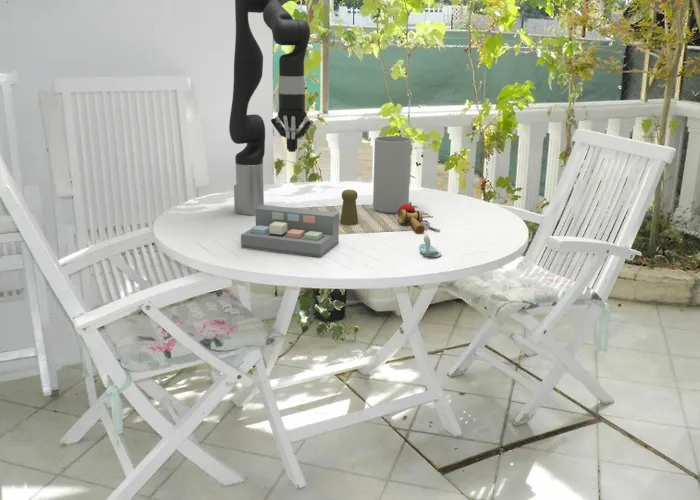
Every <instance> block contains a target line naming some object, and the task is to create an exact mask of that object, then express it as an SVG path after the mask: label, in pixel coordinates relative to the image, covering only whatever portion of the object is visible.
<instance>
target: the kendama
mask: <svg viewBox="0 0 700 500" xmlns="http://www.w3.org/2000/svg"><path fill="white" fill-rule="evenodd" d="M397 216H398V220H399V223H400V224H401V223H402V224H404V223H411V225H412V227H413V228H414V230H415V231H414V232H415V233H417V234H419V235H420V234H423V233H425V230H426V229H425V227H424V225H423V224H422V223H423V218H424V215H423V211H422V210H416V208H415V207H414V206H413V205H412V204H410V203H409V204H404V205H402V206H401V207H400V208H399V209H398V213H397Z"/></svg>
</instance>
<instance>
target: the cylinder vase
mask: <svg viewBox="0 0 700 500" xmlns="http://www.w3.org/2000/svg"><path fill="white" fill-rule="evenodd" d="M373 151H374V155H373V156H374V157H373V161H374V162H373V191H372V193H373V196H372V197H373V198H372V208H373V210H374V211H376V212H378V213H381V214H382V213H383V214H398V209H399V208H400V207H401V206H402V205H404V204H410V203H409V201H410V199H409V198H410V181H411V179H410V178H411V177H410V176H411V175H410V174H411V173H410V172H411V156H412V155H411V154H412V153H411V151H412V139H411V138H409V137H407V136H399V135H398V136H397V135H394V136H393V135H385V136H383V135H381V136H377V137H374V150H373Z"/></svg>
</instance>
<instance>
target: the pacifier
mask: <svg viewBox="0 0 700 500" xmlns="http://www.w3.org/2000/svg"><path fill="white" fill-rule="evenodd" d="M418 250H419V252H420V253H422V254H423V256H425V255H426V256H425V257H428V256H431V257H432V258H439V256H440V257H441V256H442V252H441V251H440V250H438V249H437V248H435V247H434V246H432V244H431V238H430V236H429V234H425V235H424V237H423V243H421V244H420V245H418ZM437 253H438V254H437ZM431 257H430V258H431Z"/></svg>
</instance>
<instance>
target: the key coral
mask: <svg viewBox="0 0 700 500" xmlns="http://www.w3.org/2000/svg"><path fill="white" fill-rule="evenodd" d="M304 234H305V230H296V229H291V230H290V231H288V232H287V238H295V239H301V238H302V237H303V236H304Z"/></svg>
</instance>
